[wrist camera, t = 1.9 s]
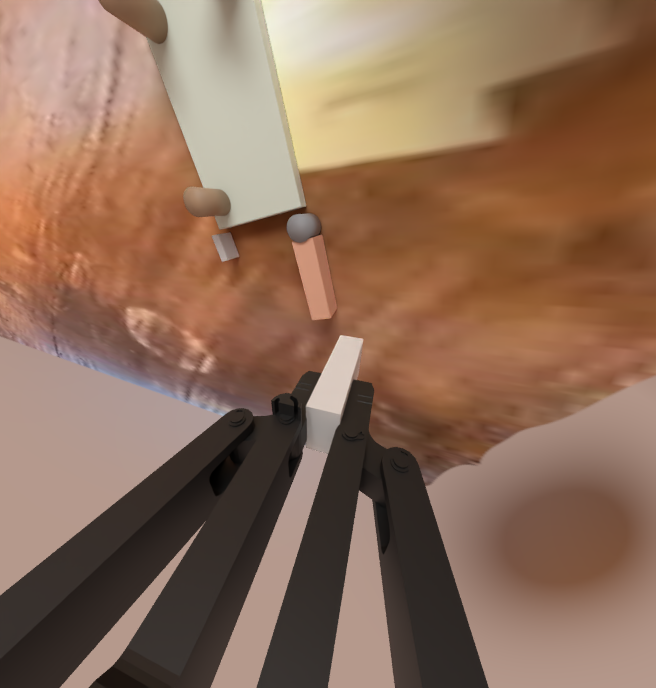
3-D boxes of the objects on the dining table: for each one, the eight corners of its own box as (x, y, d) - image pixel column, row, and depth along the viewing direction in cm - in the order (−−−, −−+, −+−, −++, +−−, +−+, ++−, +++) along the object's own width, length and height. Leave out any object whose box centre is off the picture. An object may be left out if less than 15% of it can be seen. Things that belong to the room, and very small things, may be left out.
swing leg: (297, 216, 27) (283, 217, 24) (318, 210, 26) (307, 211, 23) (319, 310, 32) (310, 320, 29) (338, 308, 31) (330, 318, 28)
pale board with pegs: (144, 21, 22) (75, -28, 17) (247, -58, 18) (193, -150, 13) (233, 258, 32) (203, 266, 27) (313, 240, 28) (295, 246, 23)
